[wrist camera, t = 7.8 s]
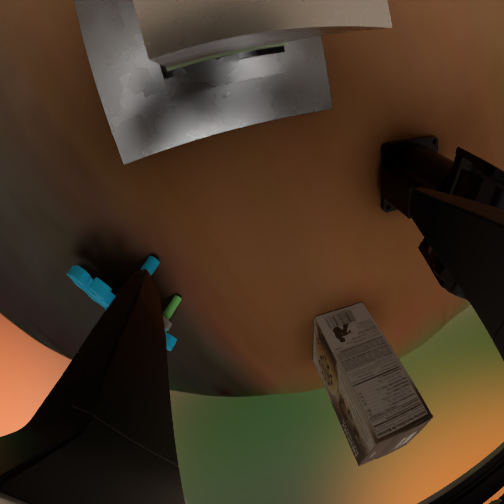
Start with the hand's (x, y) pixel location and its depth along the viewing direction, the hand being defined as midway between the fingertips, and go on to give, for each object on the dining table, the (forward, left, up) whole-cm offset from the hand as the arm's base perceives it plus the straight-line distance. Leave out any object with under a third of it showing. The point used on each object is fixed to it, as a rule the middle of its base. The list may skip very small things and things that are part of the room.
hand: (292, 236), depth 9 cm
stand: (0, -8, -13) cm, 15 cm away
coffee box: (-7, +25, -13) cm, 29 cm away
